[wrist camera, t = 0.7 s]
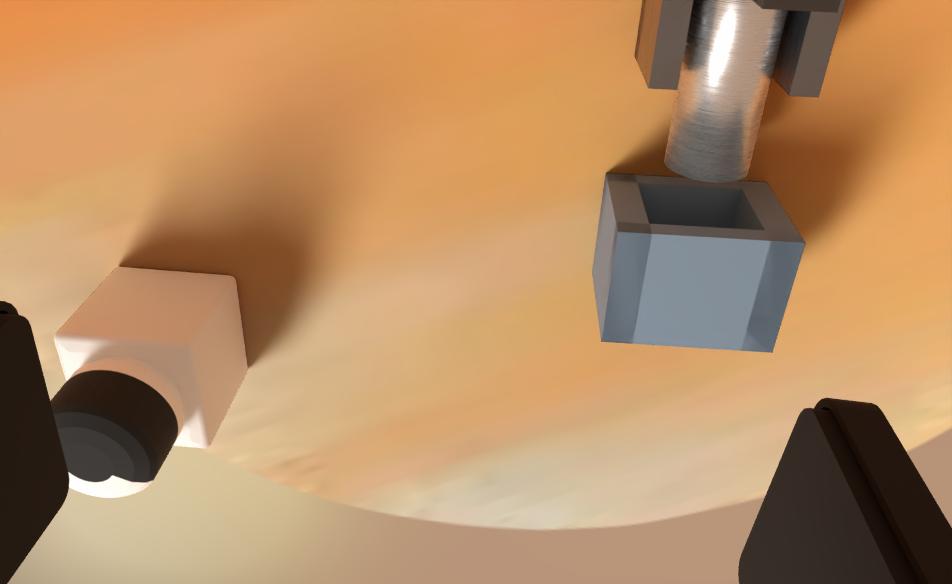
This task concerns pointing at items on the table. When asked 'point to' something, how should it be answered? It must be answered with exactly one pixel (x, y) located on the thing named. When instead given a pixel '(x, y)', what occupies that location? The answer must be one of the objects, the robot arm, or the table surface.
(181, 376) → the medicine bottle
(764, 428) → the table surface
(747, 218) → the socket block
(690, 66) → the sliding bolt
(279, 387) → the table surface
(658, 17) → the sleeve
